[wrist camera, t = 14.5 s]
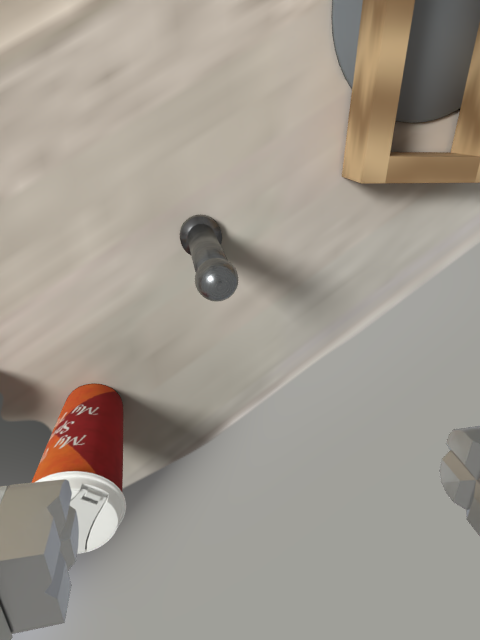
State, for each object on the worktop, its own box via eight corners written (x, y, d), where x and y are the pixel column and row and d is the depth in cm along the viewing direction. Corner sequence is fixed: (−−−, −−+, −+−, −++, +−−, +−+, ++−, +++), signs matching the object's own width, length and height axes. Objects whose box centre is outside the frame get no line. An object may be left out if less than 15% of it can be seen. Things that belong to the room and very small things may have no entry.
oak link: (390, -228, 26) (426, -280, 23) (555, -200, 28) (612, -244, 25) (341, 176, 37) (361, 183, 33) (465, 176, 39) (496, 182, 35)
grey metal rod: (179, 214, 36) (189, 260, 25) (220, 214, 37) (249, 258, 26) (180, 255, 38) (190, 315, 27) (220, 254, 38) (247, 312, 27)
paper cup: (80, 361, 41) (47, 470, 28) (148, 395, 44) (145, 508, 31) (38, 417, 42) (-9, 543, 30) (107, 446, 46) (89, 571, 33)
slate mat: (347, -149, 28) (350, -153, 28) (555, -119, 31) (560, -122, 30) (320, 119, 35) (322, 119, 34) (491, 124, 38) (494, 125, 37)
